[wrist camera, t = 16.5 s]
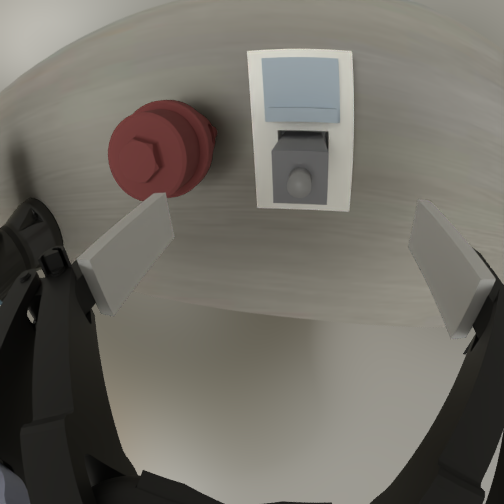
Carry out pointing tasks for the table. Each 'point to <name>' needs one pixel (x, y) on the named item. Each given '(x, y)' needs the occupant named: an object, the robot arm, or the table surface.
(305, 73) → the panel
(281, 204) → the socket
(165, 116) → the mechanical component
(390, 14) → the table surface
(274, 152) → the plug
